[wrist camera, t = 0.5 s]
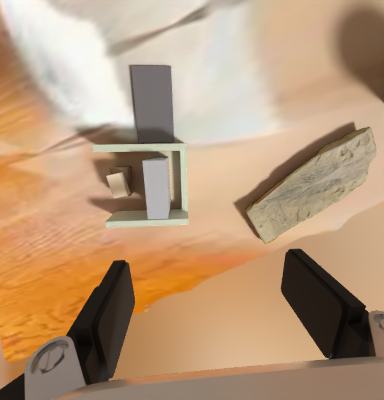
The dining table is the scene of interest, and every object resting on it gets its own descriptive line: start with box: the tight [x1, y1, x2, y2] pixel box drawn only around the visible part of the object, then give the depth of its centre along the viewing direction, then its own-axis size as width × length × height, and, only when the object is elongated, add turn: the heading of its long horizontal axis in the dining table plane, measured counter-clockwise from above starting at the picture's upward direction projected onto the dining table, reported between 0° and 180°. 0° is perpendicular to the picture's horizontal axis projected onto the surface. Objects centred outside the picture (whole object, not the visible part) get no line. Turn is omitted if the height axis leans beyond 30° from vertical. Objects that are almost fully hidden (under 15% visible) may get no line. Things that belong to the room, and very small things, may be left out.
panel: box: [131, 66, 174, 143], centre depth 34 cm, size 13×7×1 cm, turn 1°
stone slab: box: [246, 127, 376, 244], centre depth 39 cm, size 12×4×30 cm
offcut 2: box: [110, 166, 134, 196], centre depth 36 cm, size 6×3×3 cm, turn 1°
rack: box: [93, 143, 188, 228], centre depth 35 cm, size 15×16×6 cm
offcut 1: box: [106, 172, 130, 198], centre depth 34 cm, size 4×3×2 cm, turn 12°
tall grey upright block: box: [142, 158, 171, 219], centre depth 34 cm, size 10×4×9 cm, turn 1°
